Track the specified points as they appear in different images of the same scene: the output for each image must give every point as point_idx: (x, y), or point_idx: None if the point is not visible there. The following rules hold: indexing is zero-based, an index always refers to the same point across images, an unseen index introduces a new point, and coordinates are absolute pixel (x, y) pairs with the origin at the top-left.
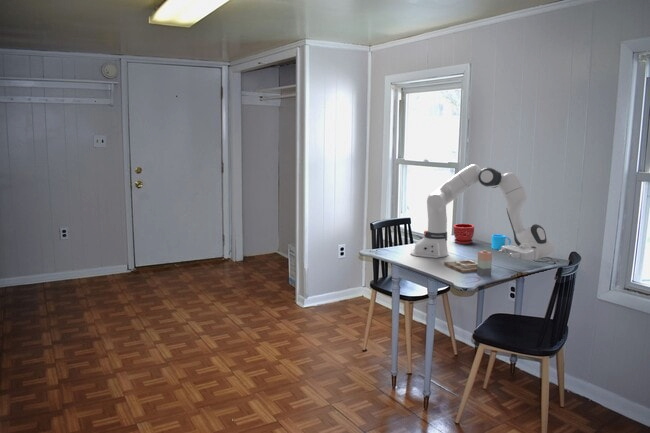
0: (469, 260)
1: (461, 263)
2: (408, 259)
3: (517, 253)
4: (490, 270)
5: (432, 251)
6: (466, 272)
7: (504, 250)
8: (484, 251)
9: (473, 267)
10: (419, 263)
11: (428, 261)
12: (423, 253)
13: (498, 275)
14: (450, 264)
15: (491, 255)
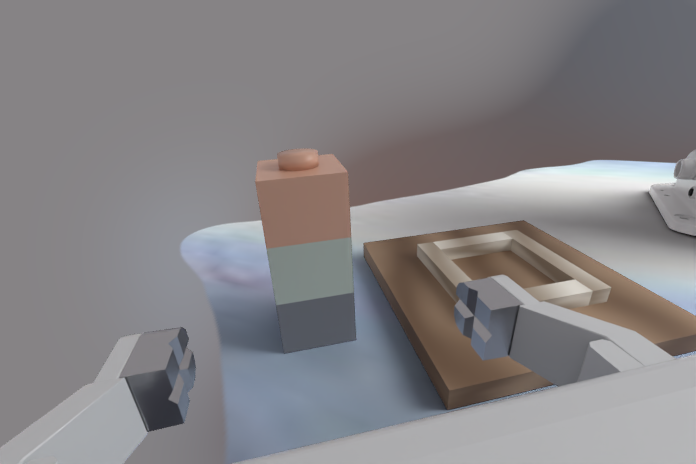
0: (579, 281)
1: (469, 241)
2: (570, 183)
3: (33, 448)
4: (278, 317)
5: (691, 192)
6: (370, 266)
7: (586, 375)
8: (284, 152)
9: (429, 286)
10: (517, 194)
11: (568, 209)
12: (683, 195)
13: (261, 403)
14: (483, 228)
15: (259, 203)
